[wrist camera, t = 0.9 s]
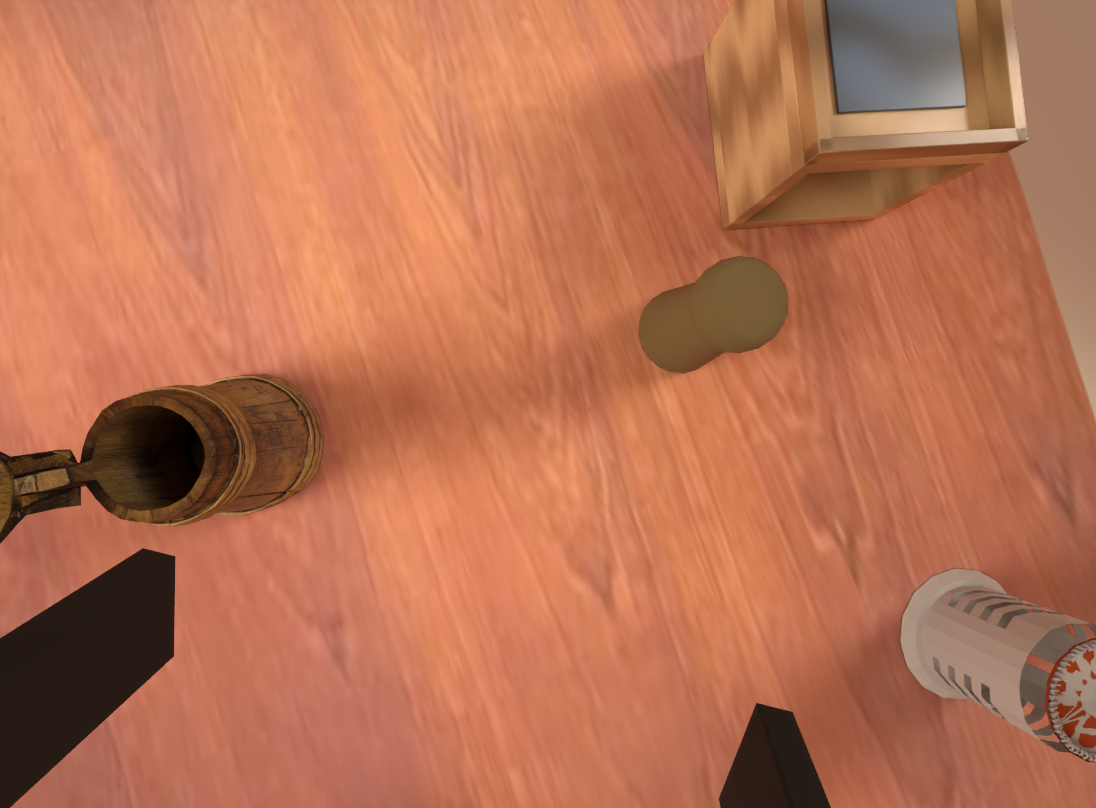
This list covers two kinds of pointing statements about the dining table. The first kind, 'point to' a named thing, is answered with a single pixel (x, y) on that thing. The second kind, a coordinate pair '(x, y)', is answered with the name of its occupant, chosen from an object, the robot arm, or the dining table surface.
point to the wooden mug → (177, 455)
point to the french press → (1003, 656)
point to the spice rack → (857, 104)
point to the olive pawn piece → (714, 315)
